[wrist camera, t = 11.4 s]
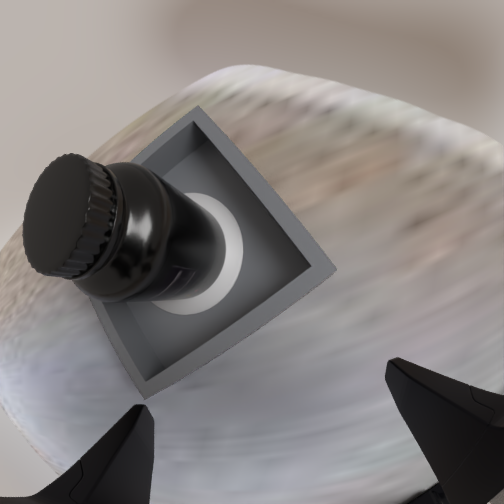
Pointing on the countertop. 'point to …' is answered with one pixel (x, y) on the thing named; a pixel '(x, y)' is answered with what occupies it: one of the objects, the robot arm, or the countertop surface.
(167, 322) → the housing
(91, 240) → the supplement bottle
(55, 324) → the countertop surface
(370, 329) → the countertop surface
